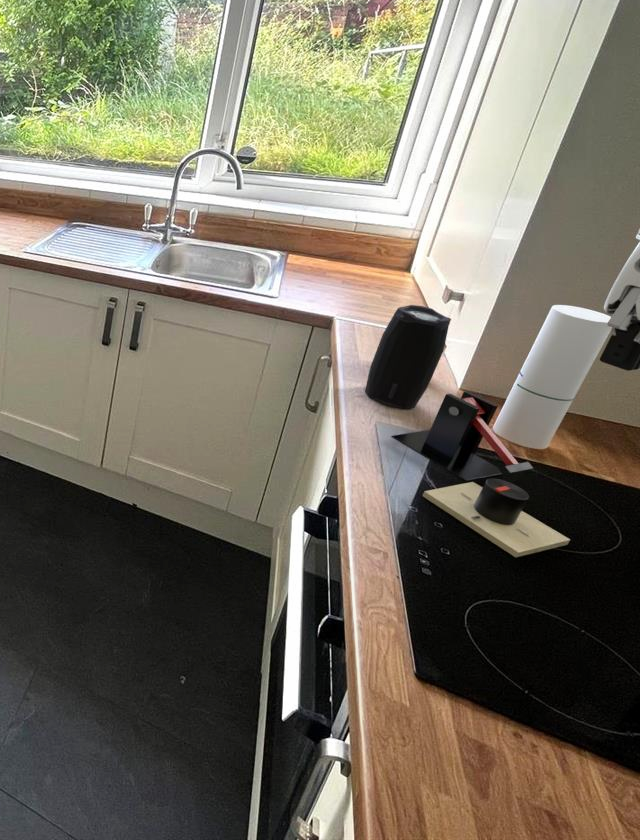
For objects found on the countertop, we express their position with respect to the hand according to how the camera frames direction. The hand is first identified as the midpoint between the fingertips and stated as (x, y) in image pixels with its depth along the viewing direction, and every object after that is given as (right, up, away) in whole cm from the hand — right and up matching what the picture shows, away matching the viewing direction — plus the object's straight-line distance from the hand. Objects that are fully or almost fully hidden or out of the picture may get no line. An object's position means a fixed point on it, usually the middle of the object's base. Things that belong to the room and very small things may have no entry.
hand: (618, 365), depth 78 cm
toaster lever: (-5, -13, +14) cm, 20 cm away
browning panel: (-12, -24, +5) cm, 27 cm away
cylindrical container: (+12, -17, +25) cm, 33 cm away
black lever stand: (-6, -18, +20) cm, 27 cm away
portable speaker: (-2, -12, +36) cm, 38 cm away
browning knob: (-12, -22, +5) cm, 25 cm away
